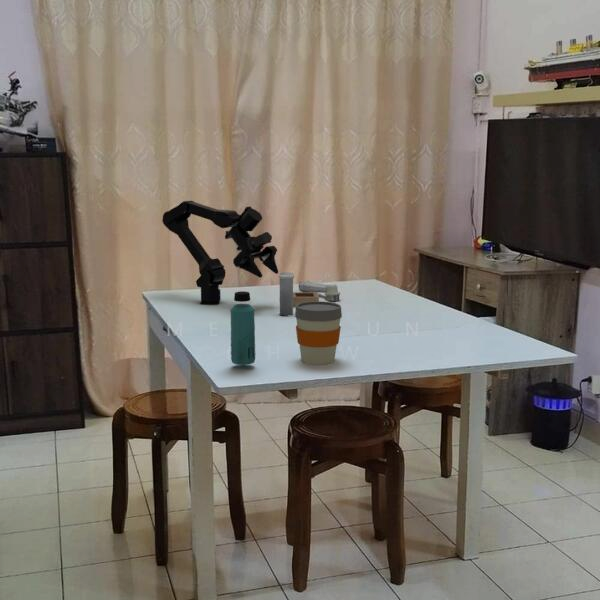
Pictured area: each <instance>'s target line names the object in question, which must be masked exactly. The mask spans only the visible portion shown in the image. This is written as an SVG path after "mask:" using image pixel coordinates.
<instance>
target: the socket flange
mask: <svg viewBox="0 0 600 600" xmlns="http://www.w3.org/2000/svg"><path fill="white" fill-rule="evenodd" d="M318 294H319V293H318V292H304V291H299V292H297V291H296V292H295V291H293V307H296V305H297V304H299V303H304V302H314V301H320V300H319V299H320V298H319V297H320V296H319V295H318Z"/></svg>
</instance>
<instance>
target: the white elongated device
mask: <svg viewBox="0 0 600 600" xmlns="http://www.w3.org/2000/svg"><path fill="white" fill-rule="evenodd" d="M298 290H299V291H300V292H317V293H322V294H323V293H324V296H325V301H326V300H327V301H326V302H330V301H331V302H335V301H340V295H341V292H339V290H338V285H337V284H325V283H318V282H313V281H310V280H305V281H300V283H299V284H298Z"/></svg>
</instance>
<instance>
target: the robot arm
mask: <svg viewBox="0 0 600 600" xmlns="http://www.w3.org/2000/svg"><path fill="white" fill-rule="evenodd" d="M192 215H194V216H196V217H200V218H202V219H205V220H209V221H211V222H212V223H213V225H216V227H219V228H221V229H228V228H230V229H229V230H226V231H225V236H224V239H225V240H228V239H232V240H233V242H234V243H235V244H236V246H237V247H236V251H237V252H238V254H236V256H235V257H234V258H233V261H232V262H233V266H235V267H236V268H239V269H241V270H244V271H246V272H248V273H251V274H253V275H254V276H256V277H257V278H260V279H261V278H262V277H263V273H262V272H261V270H260V269H259V267H258V265H257V264H256V262H255V260H256V259H258V260H260V261H261V262H262V263H261V264H263V266H265V267H266V268H268V269H269V270H270V271H272V273H274V274H275V275H277V274H279V269H278V266H277V263H276V259H275V257H276V255H277V252H278V249H277V247H276V246H275V245H267V244H270V243H272V239H273V236H272V234H271V233H269V232H268V231H266V232H265V231H264V233H261V234H259V235H257V236H251V234H250V233H249V232H252V231H254V230H255V229H256V227H257V226H258V225H259V224H260V223H261V221H262V220H263V216H262V214H261V213H260V211H257V210H256V209H254V208H252V207H251V206H246V207H245V208H244V210H243V211H242V213H241V214H238V212H237V211H235V210H234V209H233V210H230V209H217V208H214V207H211V206H209V205H208V206H207V205H205V204H201V203H199V202H196V201H194V200H184V201H182V202H181V203H179V204H178V205H176V206H174V207H173V208H171V209H170V210H167V211H165V212H164V213H163V215H162V219H161V220H162V221H161V222H162V224H163V225H164V227H166V228H167V230H168V231H170V232H171V233H173V234H175V235H176V236H178V239H180V241H181V242H182V244H183V245H184V247H185V248H186V249H187V251H188V252H189V254H190V255H191V257H192V258H193V259H194V261H195V262H196V263H197V265H198V270H199V271H198V273H199V274H200V276H199V277H198V278H197V279H196V281H195V283H196V286H197V287H198V288H200V305H219V303H220V302H221V288H220V286H222V285H223V283H224V279H225V278H226V269H225V265H224V264H222V262H221V261H220V259H219V258H218V257H217V258H211V257H210V255H209V254H208V252H207V251H206V250H205V248H204V247H203V246H202V243H201V242H200V241H199V240H198V239H197V237H196V236H195V234H194V233H193V231H192V230H191V229H190V225H189V218H190V217H191V216H192ZM265 245H267V246H265Z"/></svg>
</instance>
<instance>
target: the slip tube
mask: <svg viewBox="0 0 600 600" xmlns="http://www.w3.org/2000/svg"><path fill="white" fill-rule="evenodd" d="M278 278H279V316H281V315H285V316H284V317H289V316H288V315H292V316H294V308H293V292H294V278H295V273H294V272H278Z"/></svg>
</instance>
